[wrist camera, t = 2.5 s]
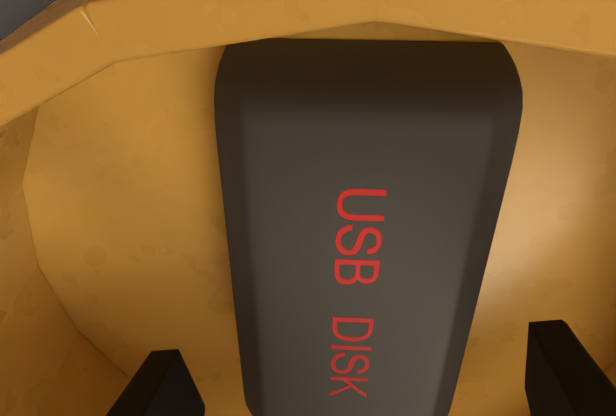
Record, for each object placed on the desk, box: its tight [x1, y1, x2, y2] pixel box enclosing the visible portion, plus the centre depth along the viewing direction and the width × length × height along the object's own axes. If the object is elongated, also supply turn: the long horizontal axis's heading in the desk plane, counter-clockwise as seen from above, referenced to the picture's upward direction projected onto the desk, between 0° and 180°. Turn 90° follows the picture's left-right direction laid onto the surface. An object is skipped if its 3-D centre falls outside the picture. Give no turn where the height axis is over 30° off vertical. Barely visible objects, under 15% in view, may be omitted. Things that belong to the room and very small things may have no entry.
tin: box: [0, 0, 616, 416], centre depth 12 cm, size 17×17×6 cm
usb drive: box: [214, 38, 523, 416], centre depth 13 cm, size 5×12×3 cm, turn 0°
